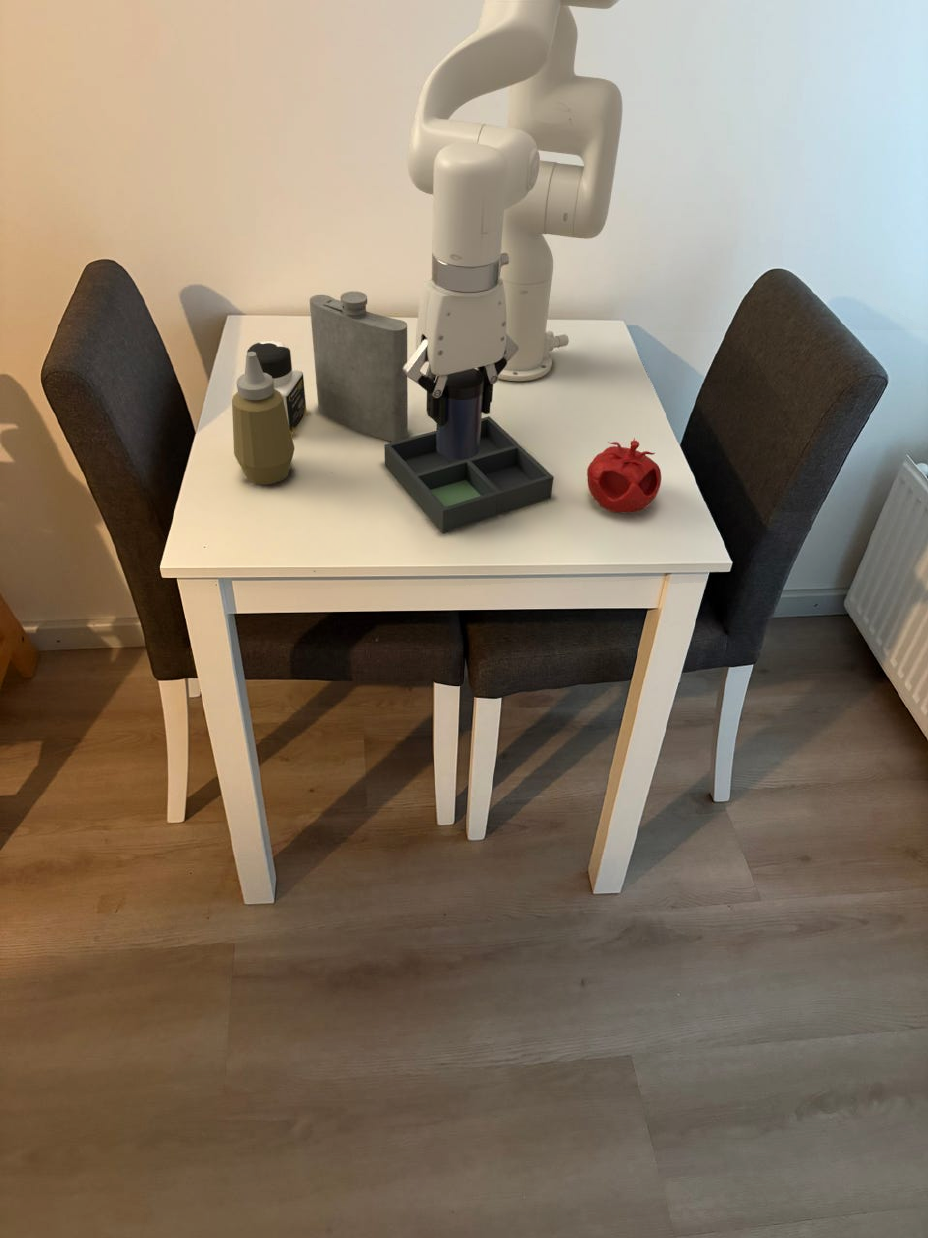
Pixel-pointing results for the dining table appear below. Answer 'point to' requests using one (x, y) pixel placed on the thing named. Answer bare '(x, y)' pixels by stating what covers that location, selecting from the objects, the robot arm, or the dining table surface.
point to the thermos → (461, 415)
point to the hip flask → (360, 366)
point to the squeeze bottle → (260, 426)
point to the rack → (468, 477)
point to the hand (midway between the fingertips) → (459, 413)
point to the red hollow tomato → (623, 478)
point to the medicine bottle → (283, 378)
